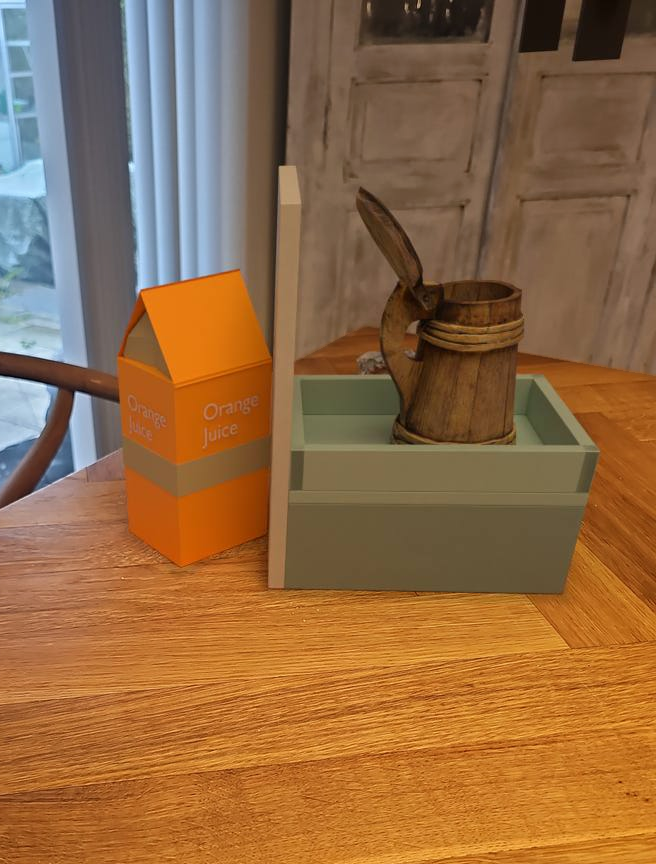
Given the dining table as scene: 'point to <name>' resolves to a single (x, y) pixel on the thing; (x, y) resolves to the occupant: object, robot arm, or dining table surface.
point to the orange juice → (195, 417)
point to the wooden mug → (446, 346)
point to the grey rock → (376, 363)
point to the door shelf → (410, 477)
